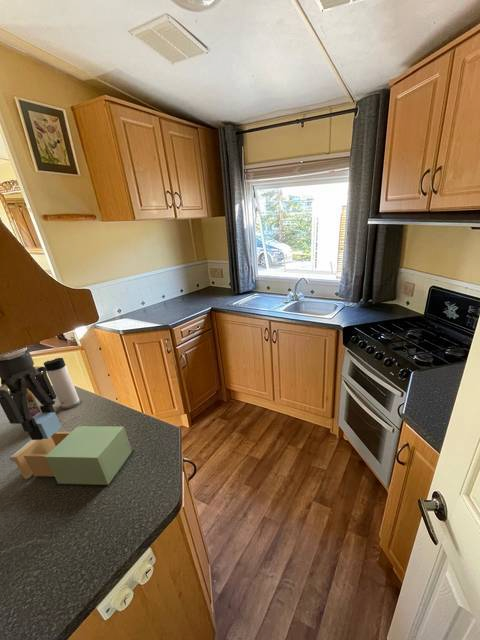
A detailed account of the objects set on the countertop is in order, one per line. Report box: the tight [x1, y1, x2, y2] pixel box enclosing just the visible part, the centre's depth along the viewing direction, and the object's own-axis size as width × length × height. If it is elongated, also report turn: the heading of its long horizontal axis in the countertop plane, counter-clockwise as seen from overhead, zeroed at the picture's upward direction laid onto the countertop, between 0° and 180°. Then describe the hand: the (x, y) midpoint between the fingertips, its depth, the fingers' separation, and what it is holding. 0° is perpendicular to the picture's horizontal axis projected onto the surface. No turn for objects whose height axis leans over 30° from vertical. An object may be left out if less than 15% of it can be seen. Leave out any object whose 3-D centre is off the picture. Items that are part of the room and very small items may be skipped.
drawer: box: [8, 431, 72, 480], centre depth 83 cm, size 18×11×8 cm, turn 86°
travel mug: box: [43, 357, 81, 409], centre depth 112 cm, size 6×7×20 cm
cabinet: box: [45, 425, 133, 486], centre depth 82 cm, size 15×13×10 cm
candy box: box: [26, 388, 43, 418], centre depth 102 cm, size 9×4×15 cm, turn 69°
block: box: [32, 412, 62, 439], centre depth 79 cm, size 5×5×5 cm
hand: (45, 431), depth 80 cm, fingers closed on block, 5 cm apart
